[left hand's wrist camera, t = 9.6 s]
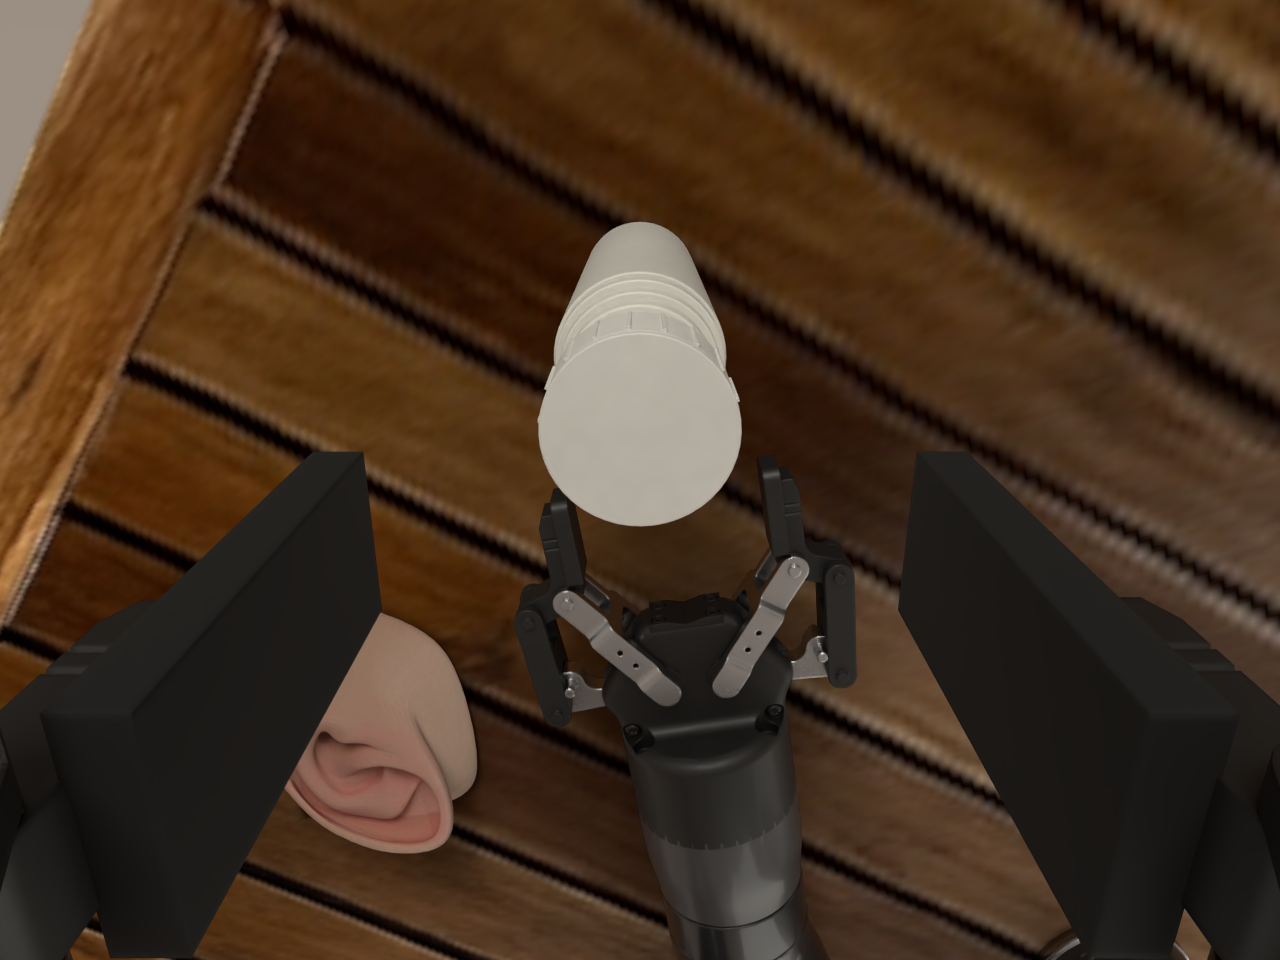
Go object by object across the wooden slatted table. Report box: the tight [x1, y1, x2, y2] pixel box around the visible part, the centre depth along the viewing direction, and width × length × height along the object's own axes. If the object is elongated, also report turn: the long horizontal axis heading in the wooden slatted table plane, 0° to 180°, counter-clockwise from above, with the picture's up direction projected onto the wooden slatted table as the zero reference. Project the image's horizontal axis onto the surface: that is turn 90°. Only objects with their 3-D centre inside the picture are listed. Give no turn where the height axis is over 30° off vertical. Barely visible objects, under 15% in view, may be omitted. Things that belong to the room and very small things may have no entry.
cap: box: [538, 311, 742, 526], centre depth 20 cm, size 4×4×2 cm
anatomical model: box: [284, 613, 477, 853], centre depth 45 cm, size 13×4×12 cm
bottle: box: [554, 222, 726, 367], centre depth 29 cm, size 5×5×22 cm
